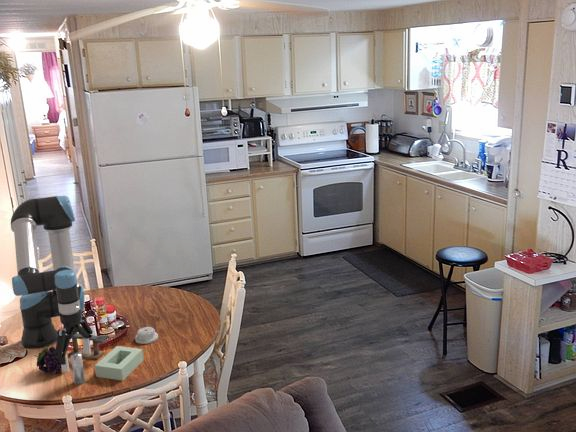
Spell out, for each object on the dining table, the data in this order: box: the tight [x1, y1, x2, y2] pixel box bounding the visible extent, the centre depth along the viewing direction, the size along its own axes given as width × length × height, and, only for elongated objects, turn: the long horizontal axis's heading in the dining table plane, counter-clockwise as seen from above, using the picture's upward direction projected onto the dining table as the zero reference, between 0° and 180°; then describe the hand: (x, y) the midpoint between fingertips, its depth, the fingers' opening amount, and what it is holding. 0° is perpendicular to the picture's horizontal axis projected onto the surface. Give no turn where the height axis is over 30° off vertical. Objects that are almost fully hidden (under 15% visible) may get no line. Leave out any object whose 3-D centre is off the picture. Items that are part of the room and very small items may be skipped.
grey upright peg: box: [69, 352, 86, 386], centre depth 217 cm, size 4×4×12 cm
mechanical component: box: [134, 326, 159, 345], centre depth 251 cm, size 10×4×10 cm
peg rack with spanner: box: [66, 332, 110, 361], centre depth 237 cm, size 18×5×9 cm, turn 74°
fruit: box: [35, 345, 62, 374], centre depth 227 cm, size 10×11×15 cm
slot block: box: [94, 345, 145, 381], centre depth 227 cm, size 12×16×5 cm
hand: (77, 362), depth 216 cm, fingers open, 13 cm apart
